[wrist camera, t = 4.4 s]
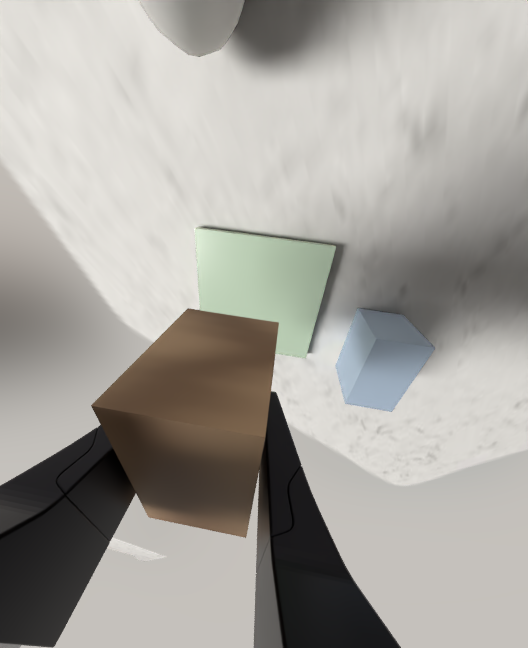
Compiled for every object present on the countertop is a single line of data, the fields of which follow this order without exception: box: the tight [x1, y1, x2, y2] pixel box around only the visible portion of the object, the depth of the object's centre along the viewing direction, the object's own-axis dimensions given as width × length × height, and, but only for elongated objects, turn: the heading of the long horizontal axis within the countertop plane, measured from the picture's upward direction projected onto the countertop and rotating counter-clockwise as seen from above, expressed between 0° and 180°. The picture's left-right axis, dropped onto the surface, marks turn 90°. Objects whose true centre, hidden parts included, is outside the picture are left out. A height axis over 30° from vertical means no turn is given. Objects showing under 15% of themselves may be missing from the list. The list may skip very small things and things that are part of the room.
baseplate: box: [195, 227, 336, 358], centre depth 19 cm, size 11×11×1 cm
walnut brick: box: [91, 309, 279, 538], centre depth 8 cm, size 4×7×5 cm, turn 174°
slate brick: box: [336, 308, 435, 412], centre depth 18 cm, size 4×7×5 cm, turn 173°
